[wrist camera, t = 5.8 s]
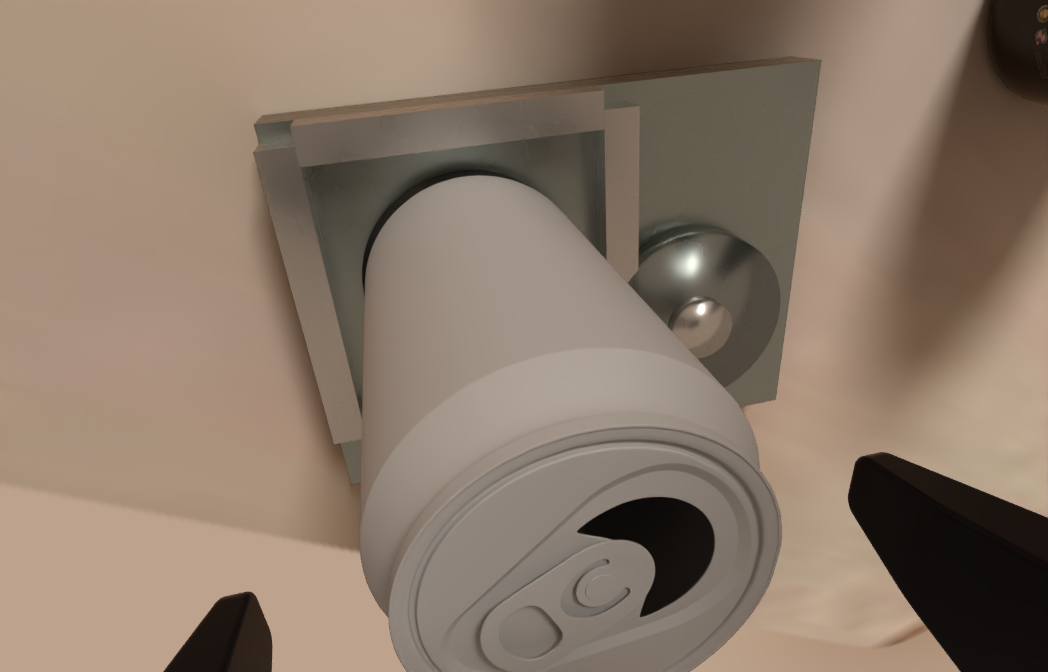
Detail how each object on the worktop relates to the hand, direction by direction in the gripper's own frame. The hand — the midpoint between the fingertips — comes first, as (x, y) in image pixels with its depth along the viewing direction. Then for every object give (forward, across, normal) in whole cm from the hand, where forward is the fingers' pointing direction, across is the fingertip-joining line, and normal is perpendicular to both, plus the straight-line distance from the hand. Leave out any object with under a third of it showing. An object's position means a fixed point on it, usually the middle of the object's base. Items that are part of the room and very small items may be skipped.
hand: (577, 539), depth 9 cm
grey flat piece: (+13, -3, +1) cm, 13 cm away
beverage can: (+11, 0, 0) cm, 11 cm away
